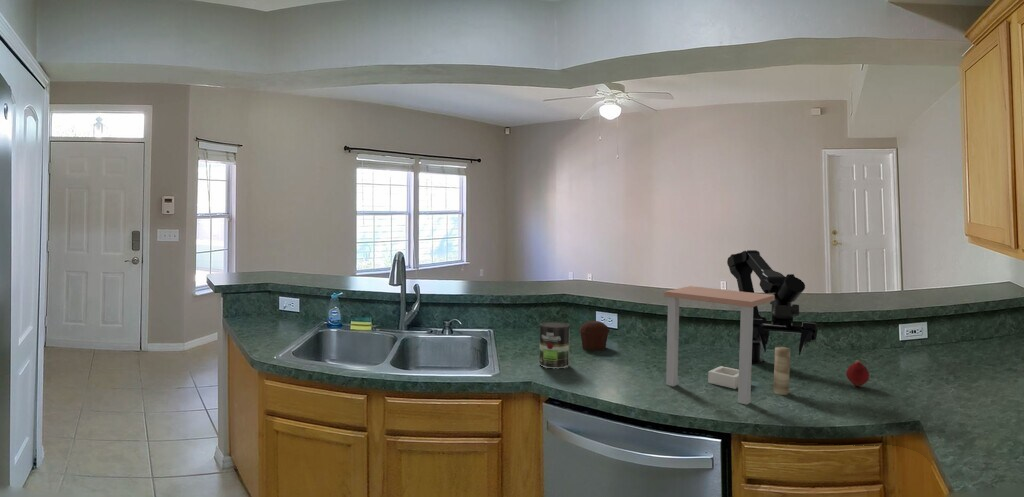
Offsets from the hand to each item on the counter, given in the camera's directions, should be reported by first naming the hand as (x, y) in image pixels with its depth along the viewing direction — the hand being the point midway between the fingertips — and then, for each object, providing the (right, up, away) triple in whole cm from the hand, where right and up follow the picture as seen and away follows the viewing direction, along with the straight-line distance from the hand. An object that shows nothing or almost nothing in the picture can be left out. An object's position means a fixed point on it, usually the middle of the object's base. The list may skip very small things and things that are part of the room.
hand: (782, 353), depth 167 cm
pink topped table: (-19, -11, +1) cm, 22 cm away
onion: (+24, -11, +3) cm, 26 cm away
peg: (-2, -11, -3) cm, 11 cm away
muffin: (-48, -7, +50) cm, 70 cm away
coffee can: (-65, -9, +26) cm, 71 cm away
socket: (-14, -10, +7) cm, 18 cm away
